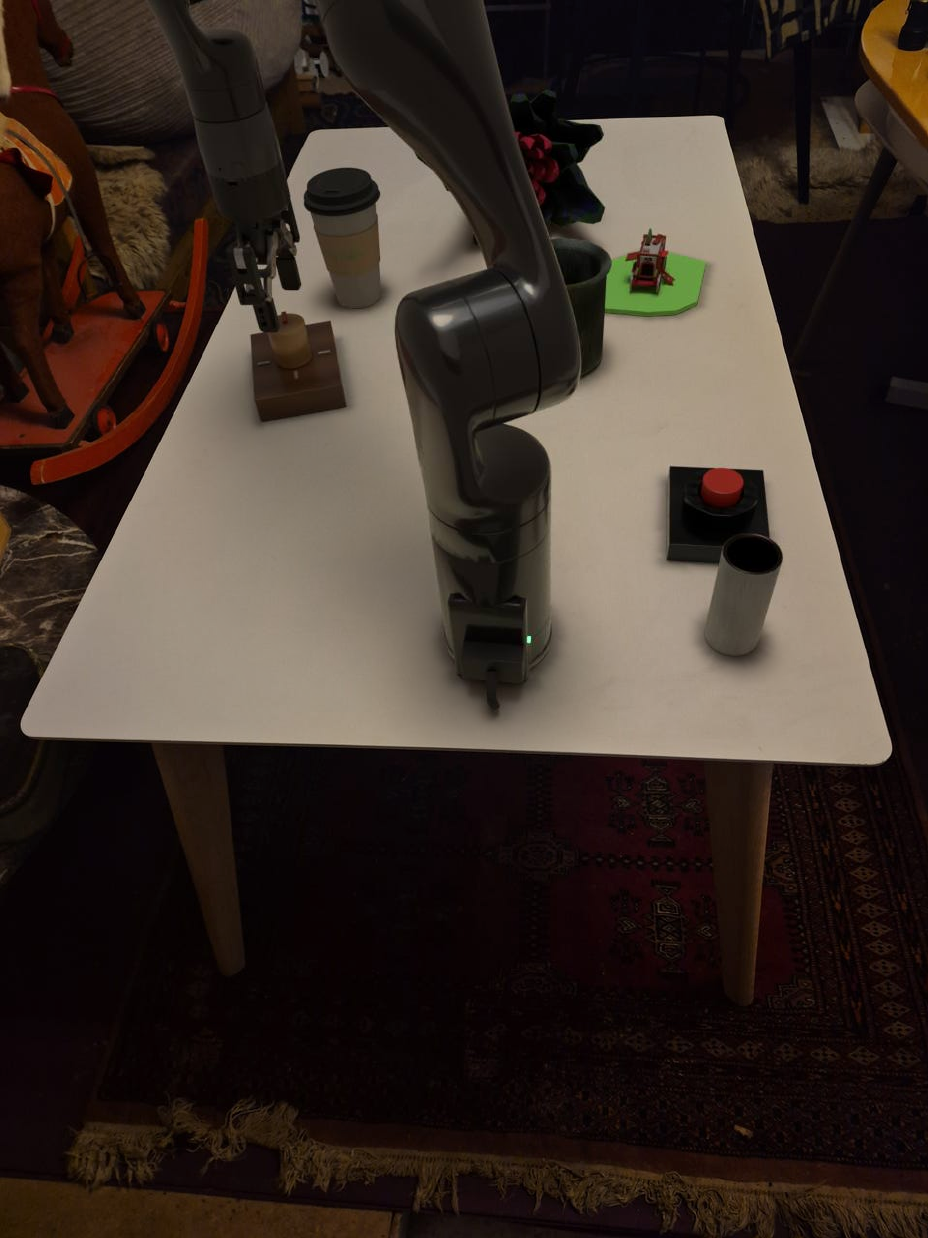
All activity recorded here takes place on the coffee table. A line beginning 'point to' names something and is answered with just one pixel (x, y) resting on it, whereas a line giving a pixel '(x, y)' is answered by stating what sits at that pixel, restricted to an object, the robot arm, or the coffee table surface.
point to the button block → (710, 515)
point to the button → (721, 487)
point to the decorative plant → (555, 160)
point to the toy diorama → (653, 281)
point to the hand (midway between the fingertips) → (281, 309)
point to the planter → (742, 593)
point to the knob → (291, 342)
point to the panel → (297, 377)
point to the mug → (585, 293)
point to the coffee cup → (347, 232)
